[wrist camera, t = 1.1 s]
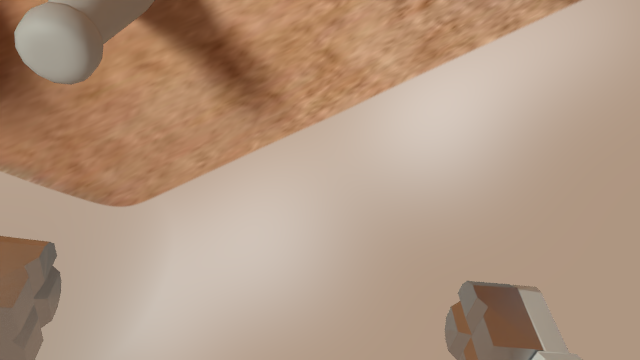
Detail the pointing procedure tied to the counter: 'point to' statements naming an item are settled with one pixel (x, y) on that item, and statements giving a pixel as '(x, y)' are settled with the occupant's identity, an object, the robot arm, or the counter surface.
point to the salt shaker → (72, 35)
